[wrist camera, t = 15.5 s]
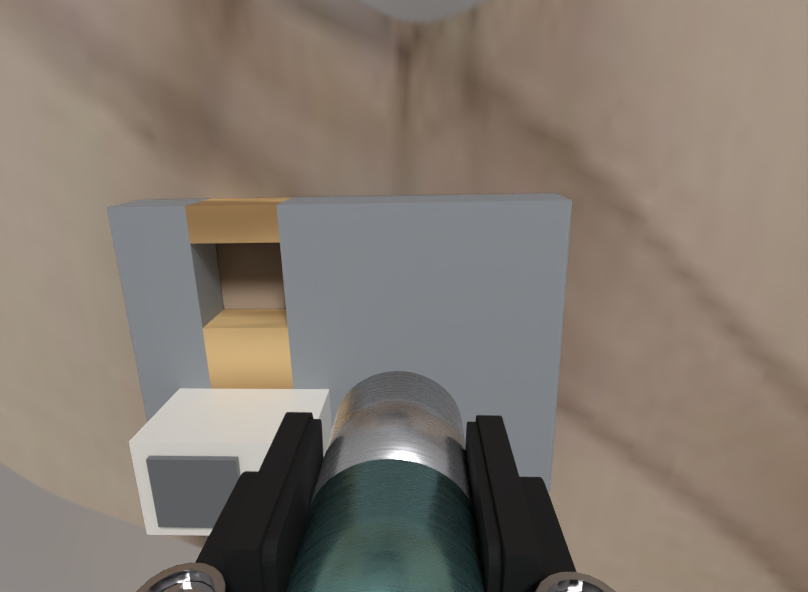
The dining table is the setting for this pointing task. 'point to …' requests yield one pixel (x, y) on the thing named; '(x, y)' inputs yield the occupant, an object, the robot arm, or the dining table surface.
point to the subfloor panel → (359, 300)
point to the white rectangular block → (210, 450)
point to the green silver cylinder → (392, 496)
